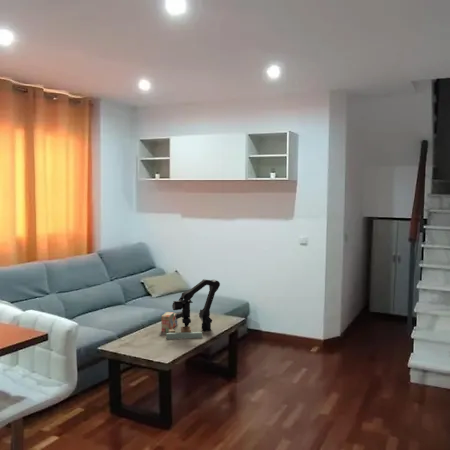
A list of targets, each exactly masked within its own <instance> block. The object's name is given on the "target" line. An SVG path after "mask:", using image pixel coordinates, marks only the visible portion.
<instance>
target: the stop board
mask: <svg viewBox="0 0 450 450" xmlns="http://www.w3.org/2000/svg"><path fill="white" fill-rule="evenodd" d="M165 333H166V335H165V336H166V339H167V340H170V339H171V340H172V339H174V340H175V339H197V338H198V339H201V338H203V331H191V332H181V331H180V332H175V333H168V332H165Z"/></svg>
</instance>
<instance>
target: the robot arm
mask: <svg viewBox="0 0 450 450" xmlns="http://www.w3.org/2000/svg"><path fill="white" fill-rule="evenodd" d="M205 286H208V289H209V291H208V294H207V297H206V300H205V302H204V305H203V308H202V309H200V310H199V313H198V315H199V316H198V317H199V319H200V320H201V330H202V332H203V331H205V332H206V331H212V327H211V324H212V322H213V319H212V318H211V316H210V315H211V312H210V311H211V310H210V309H211V307H212V304H213V300H214V298H215V294H216V292H217V291H218V290H219V288H220V286H221V283H220V281H218V280H217V279H205V278H204V279H202V280H201V281H200V282H199V283H197V284H196V285H195V286H193V287H192V288H190V289H188V290H185V291H182V293H181V296H180V298H179V299H178V300H173V302H172V305H171V307H172V310H173V311H179V312H177V313H176V312H175V313H176V314H175V317H176V319H177V320H179V319H180V318H182V319H181V322H182V324H184V327H187V326H189V325H190V324H191V322H192V320H191V304H192V303H193V301H192V298H193V297H194V295H195V294H196V293H198V292H199V291H201V290H202V289H203V288H204V287H205ZM180 310H181V311H180Z"/></svg>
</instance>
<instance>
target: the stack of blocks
mask: <svg viewBox="0 0 450 450" xmlns="http://www.w3.org/2000/svg"><path fill="white" fill-rule="evenodd" d="M175 314H176V312H175V311H173V312H171V311H166V312H164V314H162V315H161V321H160V322H161V332H163V333H164V332H165V333H168V330H171V329H174V328H175V327H176V326H178V319H176V317H175Z"/></svg>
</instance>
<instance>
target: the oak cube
mask: <svg viewBox="0 0 450 450" xmlns="http://www.w3.org/2000/svg"><path fill="white" fill-rule="evenodd" d="M167 333H176V330H175V329H174V328H173V329H171V330H168V332H167Z"/></svg>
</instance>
